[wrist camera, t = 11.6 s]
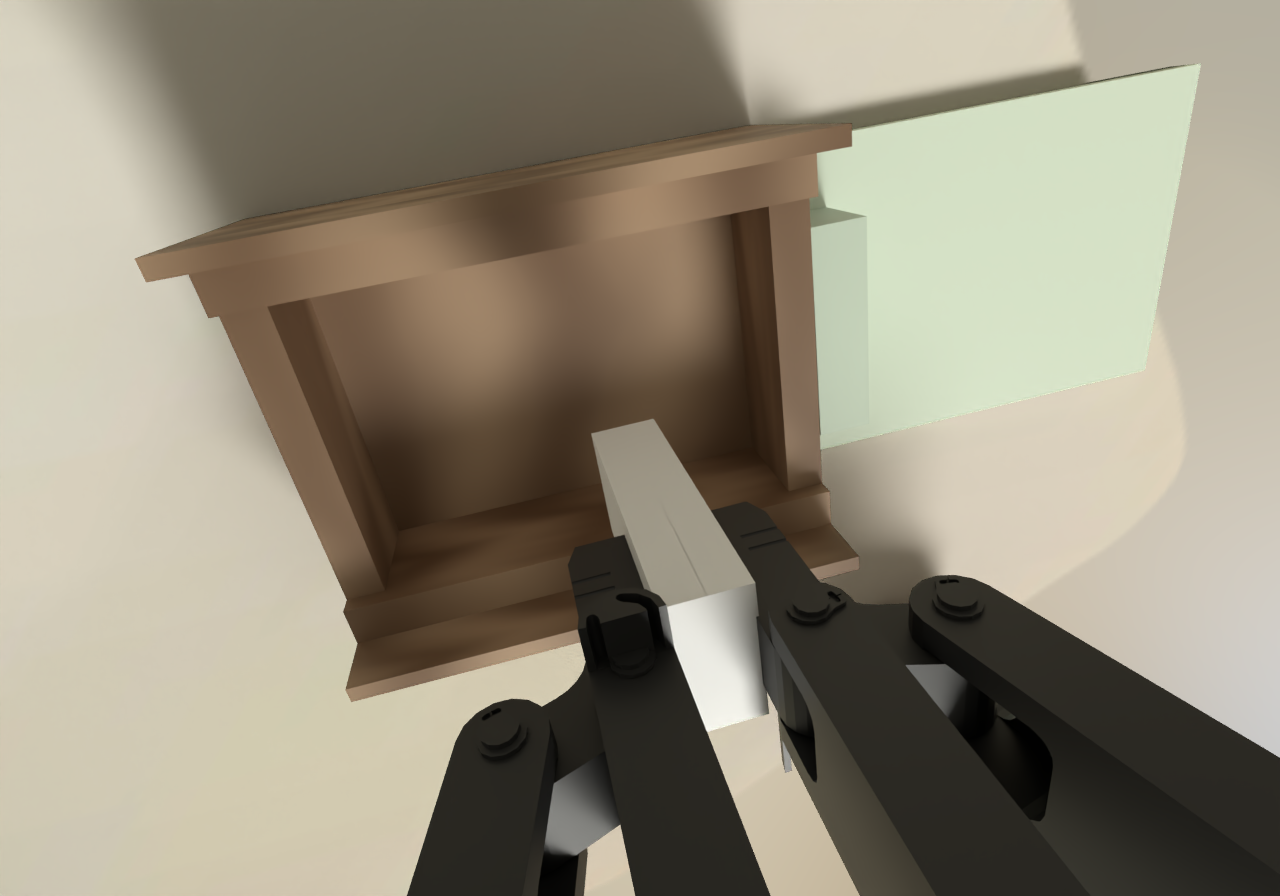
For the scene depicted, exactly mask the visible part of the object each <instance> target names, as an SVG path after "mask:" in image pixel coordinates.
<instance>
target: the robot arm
mask: <svg viewBox="0 0 1280 896" xmlns="http://www.w3.org/2000/svg"><path fill="white" fill-rule="evenodd" d="M591 435H592V439H593V444H594V449H595V453H596V458H597V463H598V467H599V472H600V477H601V482H602V486H603V491H604V496H605V500H606V505H607V510H608V514H609V519H610V524H611V528H612V532H613V535H614V537H613V538H609V539H605V540H601V541H597V542H594V543H590V544H586V545H582V546H578V547H575V548H574V551H573V553H572V556H571V558H570V561H569V563H568V569H569V574H570V579H571V583H572V588H573V593H574V598H575V603H576V607H577V612H578V617H579V618H578V629H577V630H578V634H579V638H580V641H581V645H582V649H583V653H584V657H585V661H586V663H585V666H584V670H583V672H582V674H581V675H580V677H579V678H578V680H577V681H576V683H575V684H574V685H573V686H572V687H571V688H570V689H569V690H568V691H566V692H565V693H563V694H562V695H561V696H559V697H558V698H556V699H555V700H553V701H551V702H549V703H548V704H546V705H544V706H543V707H541V706H540V705H538V704H536V703H534V702H531V701H529V700H523V699H509V700H505V701H501V702H497V703H494V704H492V705H490V706H488V707H487V708H485V709H483V710H481V711H479V712H478V713H476V714H475V715H474V716H473V717H472V718H471V719H470V720H469V721H468V722H467V723H466V724H465V725H464V727H463V728H462V730H461V732H460V734H459V736H458V738H457V740H456V742H455V745H454V748H453V751H452V754H451V758H450V761H449V764H448V767H447V770H446V774H445V777H444V780H443V783H442V786H441V789H440V793H439V796H438V799H437V802H436V805H435V808H434V812H433V815H432V818H431V821H430V824H429V828H428V831H427V834H426V837H425V840H424V843H423V847H422V850H421V853H420V856H419V859H418V863H417V866H416V869H415V872H414V875H413V878H412V882H411V885H410V888H409V891H408V894H407V896H584V887H585V876H586V865H587V854H588V852H587V847H589V846H590V845H591V844H593V843H594V842H596V841H597V840H599V839H600V838H601V837H603V836H604V835H606V834H607V833H609V832H610V831H611V830H613V829H614V828H616V827H617V826H619V825H621V829H622V834H623V839H624V844H625V848H626V853H627V858H628V863H629V868H630V872H631V877H632V882H633V887H634V891H635V896H770V893H769V891H768V888H767V886H766V883H765V880H764V878H763V875H762V873H761V870H760V868H759V865H758V863H757V860H756V857H755V855H754V852H753V849H752V847H751V844H750V842H749V839H748V837H747V834H746V831H745V829H744V826H743V824H742V821H741V819H740V816H739V813H738V811H737V808H736V806H735V803H734V800H733V798H732V795H731V793H730V790H729V788H728V785H727V782H726V780H725V777H724V775H723V772H722V769H721V767H720V764H719V762H718V759H717V757H716V754H715V751H714V749H713V746H712V744H711V741H710V739H709V736H708V733H707V732H709V731H712V730H715V729H719V728H722V727H726V726H729V725H732V724H736V723H739V722H742V721H746V720H749V719H752V718H756V717H759V716H762V715H766V714H769V709H768V699H767V692H768V694H769V696H770V698H771V700H772V702H773V704H774V706H775V708H776V710H777V712H778V721H779V731H780V742H781V752H782V761H783V765H784V769H785V772H789V771H792V768H791V759H792V761H793V763H794V765H795V767H796V769H797V771H798V773H799V775H800V776H801V779H802V780H803V783H804V785H805V787H806V789H807V791H808V793H809V795H810V796H811V799H812V801H813V802H814V805H815V807H816V809H817V810H818V813H819V814H820V817H821V819H822V821H823V823H824V825H825V827H826V829H827V831H828V833H829V835H830V837H831V839H832V841H833V843H834V845H835V847H836V849H837V851H838V853H839V855H840V857H841V859H842V861H843V863H844V865H845V867H846V869H847V871H848V873H849V875H850V877H851V879H852V881H853V883H854V885H855V887H856V889H857V891H858V893H859V895H860V896H1280V758H1279V757H1277V756H1276V755H1274V754H1273V753H1271V752H1269V751H1268V750H1266V749H1264V748H1262V747H1261V746H1259V745H1257V744H1256V743H1254V742H1252V741H1251V740H1249V739H1247V738H1246V737H1244V736H1242V735H1240V734H1239V733H1237V732H1235V731H1234V730H1232V729H1230V728H1229V727H1227V726H1225V725H1223V724H1222V723H1220V722H1218V721H1217V720H1215V719H1213V718H1212V717H1210V716H1208V715H1207V714H1205V713H1203V712H1202V711H1200V710H1198V709H1197V708H1195V707H1193V706H1191V705H1190V704H1188V703H1187V702H1185V701H1183V700H1181V699H1180V698H1178V697H1176V696H1175V695H1173V694H1171V693H1170V692H1168V691H1166V690H1165V689H1163V688H1161V687H1159V686H1158V685H1156V684H1154V683H1153V682H1151V681H1149V680H1148V679H1146V678H1144V677H1143V676H1141V675H1139V674H1138V673H1136V672H1134V671H1132V670H1130V669H1129V668H1127V667H1126V666H1124V665H1122V664H1121V663H1119V662H1117V661H1116V660H1114V659H1112V658H1111V657H1109V656H1107V655H1105V654H1104V653H1102V652H1100V651H1099V650H1097V649H1095V648H1094V647H1092V646H1090V645H1089V644H1087V643H1085V642H1084V641H1082V640H1080V639H1079V638H1077V637H1075V636H1073V635H1072V634H1070V633H1068V632H1067V631H1065V630H1063V629H1062V628H1060V627H1058V626H1057V625H1055V624H1053V623H1051V622H1050V621H1048V620H1046V619H1045V618H1043V617H1041V616H1040V615H1038V614H1036V613H1035V612H1033V611H1031V610H1030V609H1028V608H1026V607H1025V606H1023V605H1021V604H1019V603H1018V602H1016V601H1014V600H1013V599H1011V598H1009V597H1008V596H1006V595H1004V594H1003V593H1001V592H999V591H998V590H996V589H994V588H993V587H991V586H989V585H987V584H984V583H982V582H980V581H977V580H975V579H973V578H968V577H962V576H957V575H944V576H935V577H932V578H928V579H925V580H922V581H921V582H920V583H918V584H917V585H916V586H915V587H914V588H912V591H911V594H910V597H909V604H886V605H870V604H860V603H855V602H854V601H853V599H852V598H851V597H850V596H849V595H847V594H846V593H845V592H844V591H842V590H841V589H839V588H837V587H834V586H832V585H829V584H826V583H820V582H819V581H818V579H817V578H816V577H815V575H814V574H813V573H812V571H811V570H810V569H809V567H808V566H807V565H806V564H805V562H804V561H803V560H802V558H801V557H800V556H799V554H798V553H797V552H796V551H795V549H794V548H793V547H792V545H791V544H790V543H789V541H786V537H785V536H784V535H783V534H782V532H781V531H780V530H779V529H777V526H776V524H775V523H774V522H773V520H772V519H771V518H770V517H769V515H768V514H767V513H766V511H764V510H762V509H760V508H758V507H756V506H754V505H752V504H750V503H748V502H747V501H745V502H741V503H738V504H734V505H730V506H726V507H722V508H718V509H714V510H710V509H709V507H708V506H707V504H706V502H705V501H704V499H703V498H702V496H701V494H700V493H699V491H698V489H697V488H696V486H695V485H694V483H693V481H692V480H691V478H690V477H689V475H688V473H687V472H686V470H685V469H684V467H683V465H682V464H681V462H680V460H679V459H678V457H677V456H676V454H675V452H674V451H673V449H672V448H671V446H670V444H669V443H668V441H667V440H666V438H665V436H664V435H663V433H662V431H661V430H660V428H659V427H658V425H657V423H656V422H655V420H654V419H650V420H646V421H642V422H638V423H633V424H629V425H625V426H621V427H617V428H612V429H608V430H604V431H600V432H596V433H591Z"/></svg>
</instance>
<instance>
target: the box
mask: <svg viewBox="0 0 1280 896" xmlns="http://www.w3.org/2000/svg"><path fill="white" fill-rule="evenodd" d="M846 147H852V123H837V124H779V125H748V126H742V127H737V128H732V129H726V130H721V131H716V132H710V133H705V134H700V135H694V136H689V137H683V138H678V139H673V140H667V141H662V142H657V143H651V144H646V145H640V146H635V147H630V148H624V149H619V150H614V151H608V152H603V153H597V154H592V155H587V156H581V157H576V158H571V159H565V160H560V161H554V162H549V163H544V164H538V165H533V166H528V167H522V168H517V169H511V170H506V171H501V172H495V173H490V174H485V175H479V176H474V177H468V178H463V179H458V180H452V181H447V182H442V183H436V184H431V185H425V186H420V187H415V188H409V189H404V190H399V191H393V192H388V193H382V194H377V195H372V196H366V197H361V198H356V199H350V200H345V201H339V202H334V203H329V204H323V205H318V206H313V207H307V208H302V209H296V210H291V211H286V212H280V213H275V214H270V215H264V216H259V217H253V218H248V219H243V220H241V221H238V222H235V223H232V224H230V225H227V226H224V227H221V228H218V229H216V230H213V231H210V232H207V233H205V234H202V235H199V236H196V237H193V238H191V239H188V240H185V241H182V242H180V243H177V244H174V245H171V246H168V247H166V248H163V249H160V250H157V251H155V252H152V253H149V254H146V255H144V256H141V257H138V258H135V260H136V262H137V264H138V266H139V269H140V271H141V273H142V275H143V277H144V279H145V281H146V282H151V281H156V280H161V279H166V278H172V277H177V276H182V275H187V274H189V277H190V279H191V281H192V283H193V285H194V288H195V290H196V292H197V294H198V296H199V298H200V301H201V303H202V305H203V307H204V309H205V312H206V314H207V316H208V318H212V317H217V316H219V317H220V319H221V322H222V324H223V326H224V328H225V330H226V333H227V335H228V337H229V339H230V342H231V344H232V346H233V348H234V350H235V353H236V355H237V357H238V359H239V362H240V364H241V366H242V368H243V370H244V373H245V375H246V377H247V379H248V382H249V384H250V386H251V388H252V390H253V393H254V395H255V397H256V399H257V401H258V404H259V406H260V408H261V410H262V413H263V415H264V417H265V419H266V421H267V424H268V426H269V428H270V430H271V433H272V435H273V437H274V439H275V441H276V444H277V446H278V448H279V450H280V453H281V455H282V457H283V459H284V461H285V464H286V466H287V468H288V470H289V472H290V475H291V477H292V479H293V481H294V484H295V486H296V488H297V490H298V492H299V495H300V497H301V499H302V501H303V504H304V506H305V508H306V510H307V512H308V515H309V517H310V519H311V521H312V524H313V526H314V528H315V530H316V532H317V535H318V537H319V539H320V541H321V544H322V546H323V548H324V550H325V552H326V555H327V557H328V559H329V561H330V563H331V566H332V568H333V570H334V572H335V575H336V577H337V579H338V581H339V583H340V586H341V588H342V590H343V592H344V595H345V597H346V599H347V601H346V605H345V608H344V611H343V613H344V615H345V617H346V619H347V621H348V623H349V626H350V628H351V630H352V632H353V634H354V637H355V639H356V641H357V643H358V644H357V648H356V652H355V656H354V659H353V663H352V667H351V671H350V675H349V678H348V682H347V686H346V692H347V694H348V696H349V698H350V700H351V702H353V701H357V700H361V699H365V698H369V697H372V696H376V695H380V694H384V693H388V692H391V691H395V690H399V689H403V688H407V687H411V686H414V685H418V684H422V683H426V682H430V681H434V680H437V679H441V678H445V677H449V676H453V675H457V674H460V673H464V672H468V671H472V670H476V669H479V668H483V667H487V666H491V665H495V664H499V663H502V662H506V661H510V660H514V659H518V658H522V657H525V656H529V655H533V654H537V653H541V652H544V651H548V650H552V649H556V648H560V647H564V646H567V645H571V644H575V643H579V642H581V641H580V638H579V634H578V630H577V629H578V618H579V617H578V612H577V607H576V603H575V598H574V593H573V588H572V583H571V579H570V574H569V569H568V563H569V561H570V558H571V556H572V553H573V551H574V548H575V547H578V546H582V545H586V544H590V543H594V542H597V541H601V540H605V539H609V538H613V537H614V535H613V532H612V528H611V524H610V519H609V514H608V510H607V505H606V500H605V496H604V491H603V486H602V482H601V477H600V472H599V467H598V463H597V458H596V453H595V449H594V444H593V439H592V435H591V433H596V432H600V431H604V430H608V429H612V428H617V427H621V426H625V425H629V424H633V423H638V422H642V421H646V420H650V419H654V420H655V422H656V423H657V425H658V427H659V428H660V430H661V431H662V433H663V435H664V436H665V438H666V440H667V441H668V443H669V444H670V446H671V448H672V449H673V451H674V452H675V454H676V456H677V457H678V459H679V460H680V462H681V464H682V465H683V467H684V469H685V470H686V472H687V473H688V475H689V477H690V478H691V480H692V481H693V483H694V485H695V486H696V488H697V489H698V491H699V493H700V494H701V496H702V498H703V499H704V501H705V502H706V504H707V506H708V507H709V509H710V510H714V509H718V508H722V507H726V506H730V505H734V504H738V503H741V502H745V501H747V502H748V503H750V504H752V505H754V506H756V507H758V508H760V509H762V510H764V511H766V513H767V514H768V515H769V517H770V518H771V519H772V520H773V522H774V523H775V524H776V526H777V529H779V530H780V531H781V532H782V534H783V535H784V536H785V537H786V541H789V543H790V544H791V545H792V547H793V548H794V549H795V551H796V552H797V553H798V554H799V556H800V557H801V558H802V560H803V561H804V562H805V564H806V565H807V566H808V567H809V569H810V570H811V571H812V573H813V574H814V575H815V577H816V578H817V579H818V580H820V579H824V578H827V577H831V576H835V575H839V574H843V573H847V572H850V571H854V570H858V569H859V556H858V555H857V554H856V552H855V551H854V550H853V549H852V548H851V547H850V545H849V544H848V543H847V542H846V541H845V540H844V538H843V537H842V536H841V535H840V534H839V533H838V531H837V530H836V529H835V528H834V527H833V526H832V524H831V512H830V491H829V490H828V489H827V488H826V487H825V486H824V485H823V484H822V472H821V449H820V427H819V404H818V381H817V359H816V336H815V313H814V291H813V268H812V245H811V222H810V200H809V198H813V197H818V172H817V153H820V152H826V151H831V150H836V149H841V148H846Z"/></svg>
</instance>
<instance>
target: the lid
mask: <svg viewBox="0 0 1280 896" xmlns="http://www.w3.org/2000/svg"><path fill="white" fill-rule="evenodd" d="M1200 65H1201V64H1192V65H1181V66H1170V67H1165V68H1160V69H1155V70H1150V71H1145V72H1139V73H1134V74H1129V75H1124V76H1118V77H1113V78H1108V79H1103V80H1098V81H1093V82H1088V84H1084V85H1079V86H1074V87H1069V88H1063V89H1058V90H1053V91H1048V92H1043V93H1038V94H1032V95H1027V96H1022V97H1017V98H1012V99H1007V100H1001V101H996V102H991V103H986V104H981V105H976V106H970V107H965V108H960V109H955V110H950V111H945V112H939V113H934V114H929V115H924V116H919V117H914V118H908V119H903V120H898V121H893V122H888V123H883V124H877V125H872V126H867V127H862V128H857V129H852V147H846V148H841V149H836V150H831V151H826V152H820V153H817V172H818V197H813V198H809V200H810V222H811V245H812V268H813V291H814V313H815V336H816V359H817V381H818V404H819V427H820V449H821V450H822V449H826V448H830V447H834V446H838V445H843V444H847V443H851V442H855V441H859V440H863V439H867V438H871V437H875V436H879V435H883V434H887V433H891V432H896V431H900V430H904V429H908V428H912V427H916V426H920V425H924V424H928V423H932V422H936V421H940V420H945V419H949V418H953V417H957V416H961V415H965V414H969V413H973V412H977V411H981V410H985V409H989V408H993V407H998V406H1002V405H1006V404H1010V403H1014V402H1018V401H1022V400H1026V399H1030V398H1034V397H1038V396H1042V395H1047V394H1051V393H1055V392H1059V391H1063V390H1067V389H1071V388H1075V387H1079V386H1083V385H1087V384H1091V383H1095V382H1100V381H1104V380H1108V379H1112V378H1116V377H1120V376H1124V375H1128V374H1132V373H1136V372H1140V371H1144V370H1145V367H1146V361H1147V356H1148V350H1149V345H1150V339H1151V334H1152V328H1153V323H1154V317H1155V312H1156V307H1157V301H1158V295H1159V290H1160V284H1161V279H1162V273H1163V268H1164V262H1165V257H1166V252H1167V246H1168V240H1169V235H1170V229H1171V224H1172V219H1173V213H1174V208H1175V202H1176V197H1177V191H1178V186H1179V180H1180V174H1181V169H1182V163H1183V159H1184V153H1185V147H1186V142H1187V136H1188V131H1189V126H1190V120H1191V115H1192V109H1193V103H1194V98H1195V92H1196V87H1197V82H1198V76H1199V71H1200Z"/></svg>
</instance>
